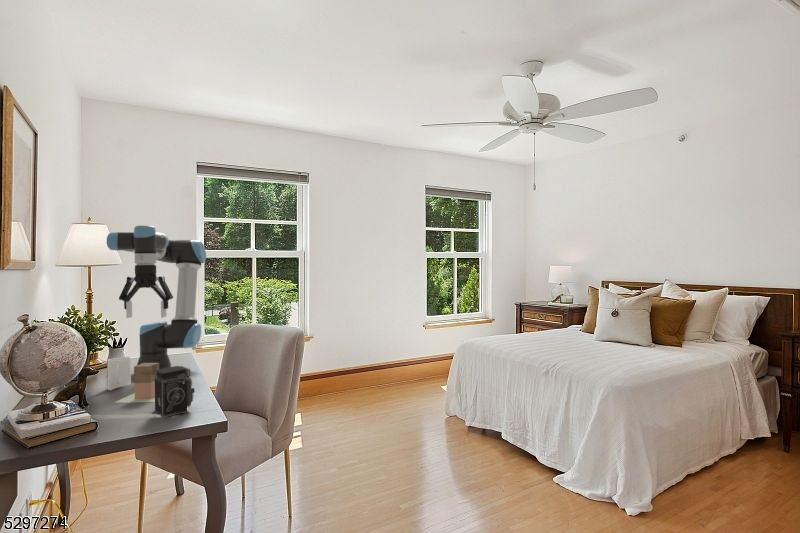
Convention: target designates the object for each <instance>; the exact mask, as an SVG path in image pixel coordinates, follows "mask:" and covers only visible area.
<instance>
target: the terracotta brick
mask: <svg viewBox="0 0 800 533" xmlns="http://www.w3.org/2000/svg"><path fill="white" fill-rule="evenodd" d="M134 393H135V399H152V398H154V397H155V381H153V382H151V383H134Z"/></svg>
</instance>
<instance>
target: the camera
mask: <svg viewBox="0 0 800 533" xmlns="http://www.w3.org/2000/svg"><path fill="white" fill-rule="evenodd" d="M155 375H157V377H155V402H154V410H155V412H157V413H158V414H159V415H161V416H162V417H163V418H167V417H170V416H171V417H172V416H176V415H180V414H186V413H188V407H190V406H191V405H192V402H193V400H194V393H195V388H194V387H193V388H192V386H193V380H192V377H190V376H191V369H190V368H188V367H186V366H183V365H180V366H179V365H175V366H171V367H169V368H164V369H158V370H155Z"/></svg>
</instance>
